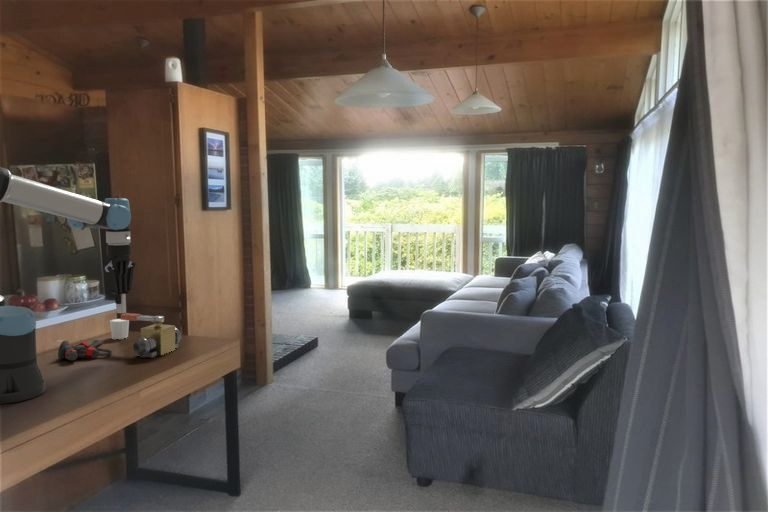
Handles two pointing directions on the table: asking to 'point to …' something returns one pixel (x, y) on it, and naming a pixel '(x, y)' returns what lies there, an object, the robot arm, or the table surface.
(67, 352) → the valve
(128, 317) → the lever
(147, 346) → the pipe valve
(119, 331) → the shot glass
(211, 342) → the table surface
